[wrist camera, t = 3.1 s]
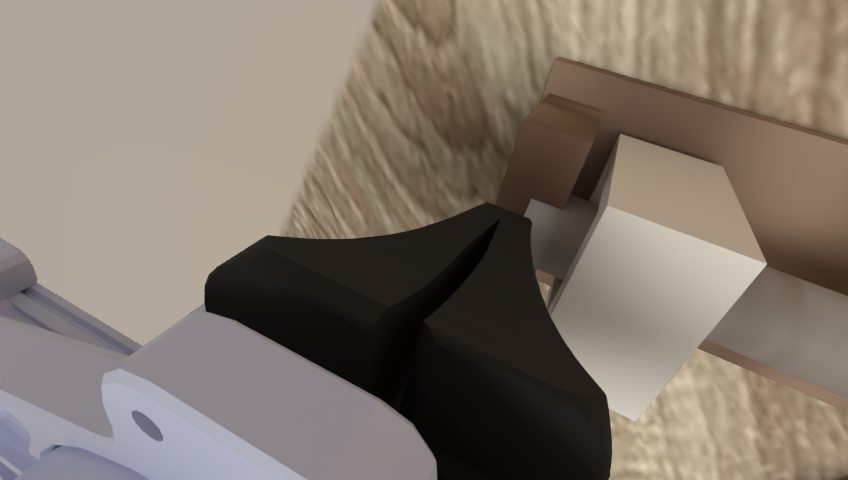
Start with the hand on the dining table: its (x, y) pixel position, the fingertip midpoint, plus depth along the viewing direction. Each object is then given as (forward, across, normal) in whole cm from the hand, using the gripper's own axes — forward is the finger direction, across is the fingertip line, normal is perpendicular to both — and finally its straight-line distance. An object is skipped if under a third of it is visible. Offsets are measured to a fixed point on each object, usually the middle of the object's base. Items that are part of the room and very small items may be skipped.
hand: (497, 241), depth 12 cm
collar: (+4, -4, 0) cm, 6 cm away
